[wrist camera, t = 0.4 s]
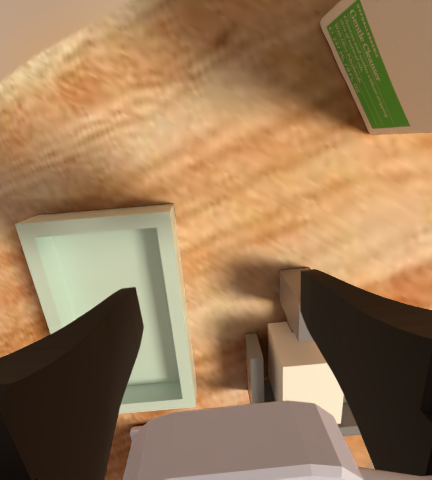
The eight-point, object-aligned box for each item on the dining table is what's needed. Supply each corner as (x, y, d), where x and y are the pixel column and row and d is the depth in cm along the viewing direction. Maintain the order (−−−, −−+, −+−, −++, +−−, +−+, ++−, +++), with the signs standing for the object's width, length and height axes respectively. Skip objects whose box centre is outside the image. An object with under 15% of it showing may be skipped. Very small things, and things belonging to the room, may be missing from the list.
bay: (336, 382, 27) (364, 434, 22) (248, 390, 26) (257, 444, 22) (341, 325, 24) (374, 369, 20) (245, 334, 24) (254, 379, 20)
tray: (196, 383, 26) (195, 406, 24) (89, 392, 26) (77, 417, 23) (173, 203, 20) (169, 211, 18) (36, 215, 20) (14, 224, 18)
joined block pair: (316, 372, 26) (340, 423, 21) (268, 377, 26) (282, 428, 21) (322, 266, 22) (353, 299, 18) (266, 271, 22) (283, 305, 18)
